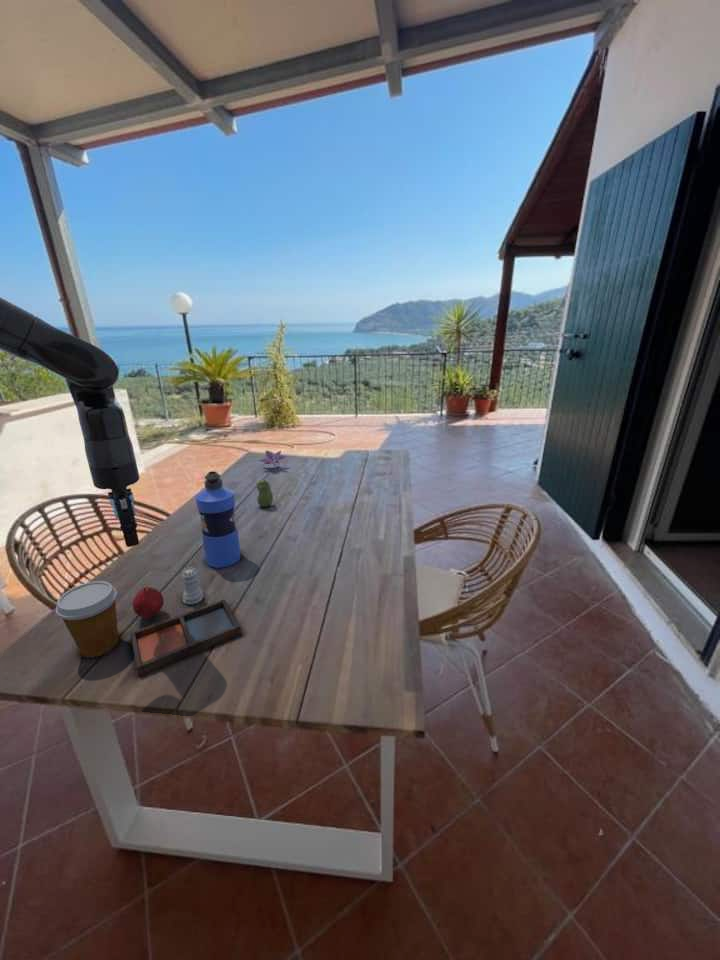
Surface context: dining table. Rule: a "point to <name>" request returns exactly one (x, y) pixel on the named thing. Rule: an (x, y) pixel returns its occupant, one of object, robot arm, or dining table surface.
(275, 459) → the lily
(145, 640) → the tray
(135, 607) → the pomegranate
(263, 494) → the pear
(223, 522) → the water bottle
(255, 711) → the dining table surface
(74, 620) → the disposable coffee cup
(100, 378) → the robot arm
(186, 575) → the rook chess piece
